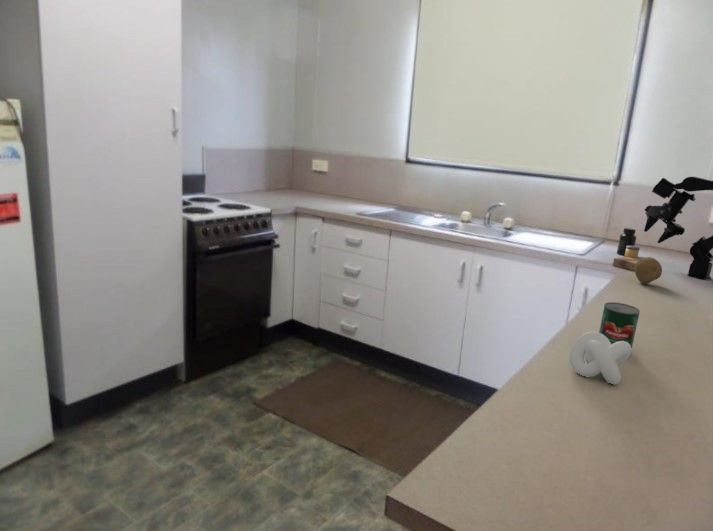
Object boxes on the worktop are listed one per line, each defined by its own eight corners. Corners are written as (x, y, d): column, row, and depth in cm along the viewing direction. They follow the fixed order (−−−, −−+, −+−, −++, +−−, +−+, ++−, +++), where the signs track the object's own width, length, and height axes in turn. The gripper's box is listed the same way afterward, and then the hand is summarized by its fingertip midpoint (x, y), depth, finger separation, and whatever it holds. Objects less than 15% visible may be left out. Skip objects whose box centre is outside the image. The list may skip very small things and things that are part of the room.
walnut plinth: (648, 269, 226) (650, 262, 226) (635, 271, 221) (637, 264, 220) (625, 263, 234) (627, 256, 233) (612, 265, 229) (614, 258, 228)
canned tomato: (621, 344, 140) (629, 303, 137) (637, 357, 132) (646, 313, 130) (590, 342, 140) (598, 301, 137) (605, 355, 132) (614, 311, 129)
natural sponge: (644, 279, 209) (649, 254, 206) (664, 286, 201) (670, 260, 198) (626, 280, 205) (631, 254, 203) (646, 287, 197) (652, 260, 195)
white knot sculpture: (635, 394, 113) (645, 353, 111) (574, 385, 115) (582, 345, 112) (620, 371, 124) (628, 333, 121) (564, 363, 125) (571, 326, 123)
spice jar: (638, 264, 235) (642, 247, 234) (632, 265, 232) (635, 248, 231) (627, 261, 239) (630, 244, 238) (620, 262, 237) (623, 245, 235)
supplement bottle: (634, 257, 249) (640, 231, 246) (618, 255, 250) (623, 229, 247) (630, 253, 256) (635, 228, 253) (614, 252, 257) (620, 226, 254)
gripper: (646, 189, 227) (624, 221, 234) (675, 210, 212) (650, 244, 219) (666, 196, 231) (643, 227, 238) (696, 218, 215) (671, 250, 223)
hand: (651, 237), depth 229 cm, fingers open, 9 cm apart
